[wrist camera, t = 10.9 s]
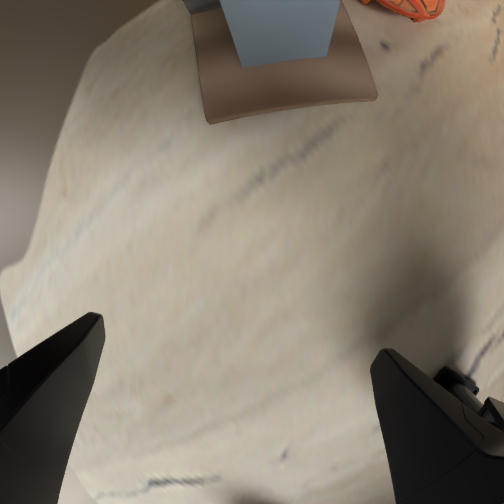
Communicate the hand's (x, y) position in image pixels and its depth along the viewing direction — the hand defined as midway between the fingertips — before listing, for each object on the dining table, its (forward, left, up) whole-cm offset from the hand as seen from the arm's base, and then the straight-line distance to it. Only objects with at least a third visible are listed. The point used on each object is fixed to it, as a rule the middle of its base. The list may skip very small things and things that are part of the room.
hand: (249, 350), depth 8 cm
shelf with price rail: (+9, -15, -12) cm, 21 cm away
